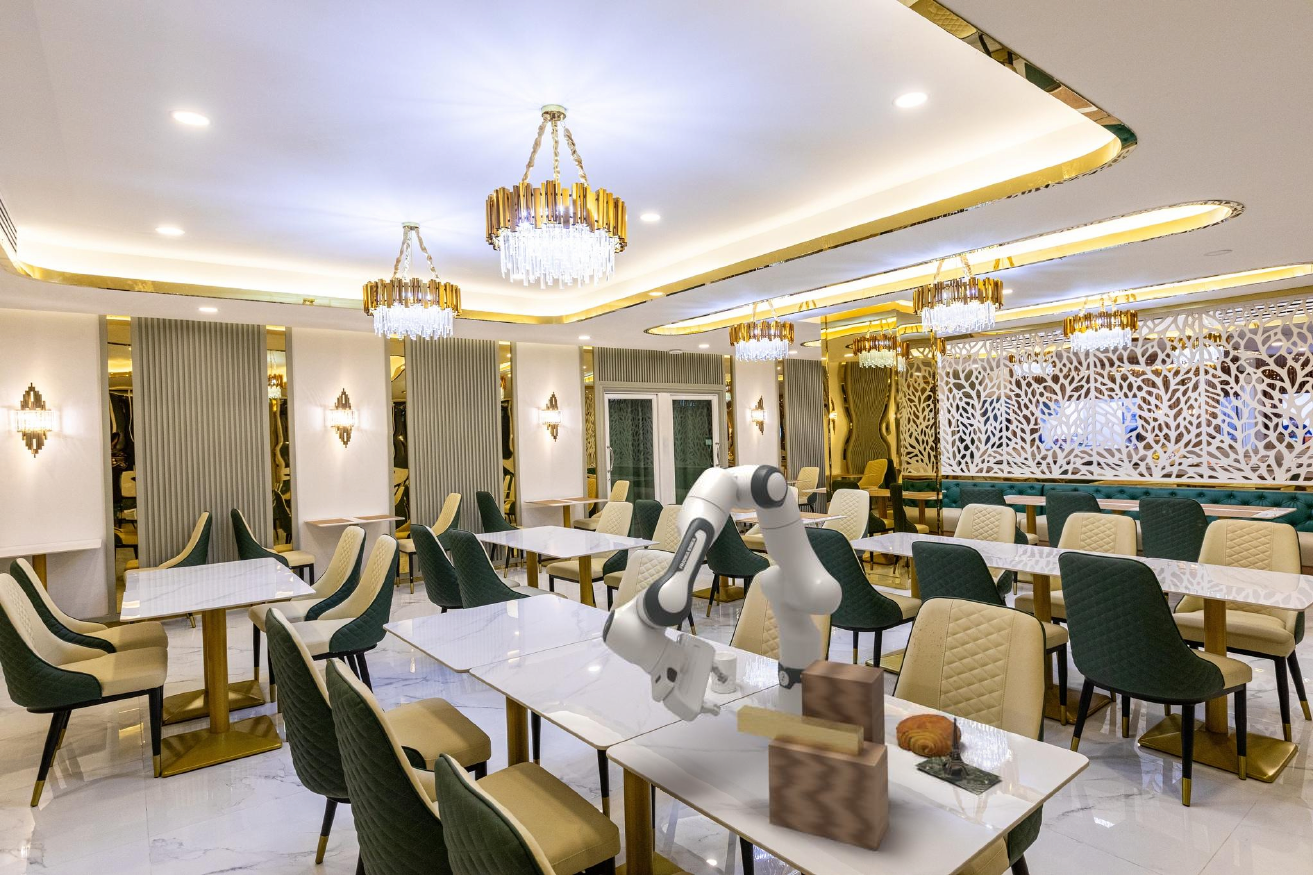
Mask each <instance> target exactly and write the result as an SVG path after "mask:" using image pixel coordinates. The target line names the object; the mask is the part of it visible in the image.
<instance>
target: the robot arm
mask: <svg viewBox="0 0 1313 875" xmlns="http://www.w3.org/2000/svg"><path fill="white" fill-rule="evenodd" d="M732 510H741V511H750V510H755V512H756V513H755V514H756V517H757V522H758V526H759V529H760V532H761V536H762V540H763V543H764V546H765V550H766V552H767V554H768V556H769V558H770V559H771V560H773V561H774V563H775V564H776V565H775V564H774V565H771V566H769V567H767V568H766V569H765V570H764V572H763V573H762V575H761V577H760V586H759V587H760V590H761V593H762V594H763V596H764V597H765V599H767V600H766V601H768V603H769V605H770V608H771V611H772V614H773V617H774V619H775V620H774V621H775V624H776V627H777V628H776V629H777V634H778V652H779V655H778V656H779V660H778V661H777V677H778V689H777V697H776V704H775V711H781V712H786V713H791V714H797V715H802V677H801V673H802V672H803V671H804V670H805V669H806V668H807V667H809V666H810V665H811V664H812V663H813V662H814V661H815V660H817V659H818V660H823V639H822V638H823V636H822V633H821V631H820V628H818V626H817V624H815V622H814V620H813V617H812V615H813V616H828V615H829V616H830V615H832V614H833V613H835V612H836V611H837V610H838V608H839V606H840V604H841V601H842V598H843V594H842V592H843V591H842V586H841V584H840V583H839V581H837V580H836V579H835V577H833V576H832V575H831V574H830V573H829V572H828V571H827V569H826V568H825V567H824V565H823V564H822V562H821V560H820V559H819V557H818V556H817V554H816V552H815V550H814V549H813V547H812V545H811V542H810V541H809V537H808V534H807V531H806V528H805V524H804V521H803V517H802V514H801V510H800V507H799V504H798V502H797V500H796V497H795V495H794V493H793V491H792V488H791V486H790V485H789V484H788V480H787V478H786V475H785V474H784V472H783V471H782V470H781V469H780V468H779V467H777V466H773V465H769V464H762V465H760V464H759V465H757V464H743V465H740V466H732V467H722V468H721V467H710V468H708V469H705V470H704V471H703V472H702V473H701V475H700V476H699V477H698V479H697V480H696V481H695V482H694V484H693V485H692V486H691V488H690V490H689V492H688V493H687V495H686V496H685V498H684V500H683V503H682V505H681V507H680V508H679V512H678V515H677V517H676V523H675V527H676V531H677V533H678V535H679V536H680V541H679V544H678V546H677V547H676V548H677V549H676V550H675V553H674V555H673V556H672V559H671V561H670V563H669V565H668V567H667V570H665V572H664V573H663V574H662V576H660V577H658V578H657V579H656V580H655V581H653V582H652V583H651V584H650V585H649V586H647V587H645V588H644V589H643V590H641V591H640V592H639V593H638V594H637V595H635V597H633V598H632V599H630V600H629V601H627V603H624V604H623V605H621V606H619V607H618V608H614V609H613V610H612V611H611V612H610V613H609V615H608V617H607V619H606V621H605V624H604V626H603V630H602V639H603V640H602V641H603V643H604V645H605V646H607V648H608V649H609V650H610V651H612V652H613V653H614V654H616V655H617V656H618V657H620V658H622V659H623V660H625V661H626V662H627V663H629V664H632V665H635V666H638V667H639V668H640V669H641V670H643V672H644V673H646V674H647V675H649V677H650V686H651V699H652V700H653V701H655V702H656V703H660V702H662V704H663V706H664V707H665V709H667V710H668V711H669V712H671V713H672V714H673V715H674V716H677V717H678V718H679V719H681V720H683V721H685V722H688V723H690V722H693V721H695V720H696V719H697V718H698V716H699V715H700V714H710V715H712V716H714V717H718V716H719V715H721V710H722V707H721V706H720V705H718V704H716V703H714V704H713V705H709V704H708V702H707V701H706V700H704V698H705V694H706V691H707V687H708V682H709V680H710V677H711V672H713V673H714V674H715V675H716V676H717V677H718V679H717V680H718V681H719V682H721V683H723V684H724V683H726V682H727V680H728V674H726V673H725V672H723V671H722V669H721V668H720V666H719V665H718V664H717V663H716V662H714V661H713V660H714V656H715V652H717V651H716V649H715V647H714V646H713V645H712V644H711V643H709V642H707V641H705V640H702V639H701V638H699V637H696V636H693V635H690V634H689V633H687V632H682V633H680V634H678V635H677V637H676V641H675V640H674V639H672V638H670V637H668V636H667V635H666V631H667V629H668V628H669V627H675V626H677V625H681V624H682V623H683V622H684V621H685V620H686V619H687V618H688V617H689V615H690V613H691V611H692V607H693V596H694V595H693V594H694V586H695V581H696V578H698V575H699V572H700V570H701V567H702V565H703V564H704V561H705V558H706V556H707V554H708V551H709V550H710V548H711V546H712V545H713V544H714V542H716V540H717V538H718V537H719V535H720V534H721V532H722V531H723V529H724V527H725V525H726V523H727V521H728V519H729V516H730V515H731V512H732Z"/></svg>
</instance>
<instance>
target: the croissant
mask: <svg viewBox="0 0 1313 875" xmlns="http://www.w3.org/2000/svg"><path fill="white" fill-rule="evenodd" d="M956 726H957V739H958V745H959V744H960V743H961V740H962V735H963V733H962V730H961V728H960V726H958V725H957V724H956ZM953 730H954V720H951V719H950V718H948V717H947V716H945V715H941V714H936V713H935V714H934V713H922V714H916V715H912V716H909V717H906V718H904V719H903V720H901V721H899V722H898V724H897V726H896V727H895V731H896V733H895V734H896V741H897V743H898V745H899V746H900V747H901V748H902V750H906V751H907V752H914V754H918V755H920V756H923V757H929V759H930V758H932V757H934V756H949V754H950V751H951V747H952V742H953Z"/></svg>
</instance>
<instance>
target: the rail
mask: <svg viewBox="0 0 1313 875" xmlns="http://www.w3.org/2000/svg"><path fill="white" fill-rule="evenodd" d="M736 719H737V720H736V722H737V723H736V724H737V728H736V730H737V733H738V732H739V733H744V734H748V735H752V736H759V737H761V738H767V739H768V738H769V739H772V740H773V739H776V740H781V741H786V742H791V743H796V744H801V745H806V746H810V747H815V748H820V749H825V750H830V751H835V752H840V753H844V754H849V755H854V756H858V755H859V754H860V753H861V751H862V750H863V748H864V740H863V727H862V726H856V725H851V724H845V723H840V722H835V721H829V720H824V719H818V718H813V717H808V716H802V715H797V714H791V713H786V712H781V711H775V710H774V709H769V708H764V707H759V706H753V705H748V704H745V705H743V706H742V707H741V708H739V709H738V710H737V711H736Z"/></svg>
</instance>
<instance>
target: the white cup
mask: <svg viewBox="0 0 1313 875" xmlns="http://www.w3.org/2000/svg"><path fill="white" fill-rule="evenodd" d="M737 656H738V655H737V654H735V653H734V652H730V651H716V652H715V656H714V660H713V661H714V662H716V663H717V664H718V665H719V666H720V668H721V669H722V671H723V672H725V673H726V674H728V680H727V682H726V683H724V684H723V683H721V682H719V681H718V680H717V679H718V677H717V676H716V675H715V674H714V673H713V672H710V680H711V689H712V691H713V693H717V694H723V695H724V694H731V693H735V691H736V683H737V669H738V668H737V666H738V665H737V664H738V662H737V659H738V657H737Z"/></svg>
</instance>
